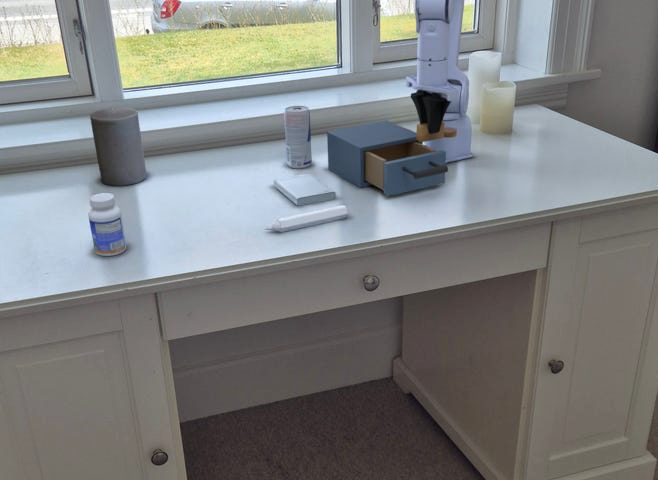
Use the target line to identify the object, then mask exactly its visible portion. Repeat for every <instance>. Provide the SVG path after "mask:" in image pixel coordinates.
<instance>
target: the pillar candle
mask: <svg viewBox="0 0 658 480" xmlns="http://www.w3.org/2000/svg"><path fill="white" fill-rule="evenodd" d="M89 119H90V124H91V130H92V136H93V143H94V148H95V151H96V152H95V153H96V159H97V164H98V169H99V174H100V182H101V183H102V184H103V185H107V186H116V187H122V186H130V185H134V184H137V183H141V182H142V181H145V179H147V176H148V175H147V169H146V160H145V153H144V147H143V140H142V133H141V127H140V120H139V113H138V110H136V109H134V108H131V107H113V106H111V107H110V108H109V107H108V108H104V109H100V110H97V111H94V112H92V113H91V114H90V115H89Z"/></svg>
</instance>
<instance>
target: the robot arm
mask: <svg viewBox="0 0 658 480" xmlns="http://www.w3.org/2000/svg"><path fill="white" fill-rule="evenodd" d="M464 9H465V0H414V18H415V33H416V34H417V46H416V47H417V50H416V51H417V53H416V74H413V75H406V77H405V86H406V88H411V89H412V90H414V91H415V90H416V91H415V92H411V93H410V99H411V100H412V102H413V104H414V107H415V110H416V113H417V116H418V120H419V121H418V122H419V124H423V123H427V124H428V131H429V133H430V134H433V133H438V132H439V131H440V127H441V124H442V122H444V128H446V127H451V128H456V129H457V136H455V137H451V138H445V137H444V138H440V139H435V140H431V141H426V142H424V145H425V146H428V147H430V148H432V149H434V150H436V151H441V150H443V151H446V164H447V163H451V162H456V161H460V160H465V159H470V158H473V153H472V154H471V148H472V131H473V127H472V121H471V118H470V117H469V115H467V112H468V107H469V99H470V90H469V89H470V80H469V78H468V75H467V74H466V73H465V72H464V71H462V70H461V68H459V56H460V46H461V37H462V27H463V19H464V18H463V17H464Z"/></svg>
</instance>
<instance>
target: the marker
mask: <svg viewBox="0 0 658 480" xmlns="http://www.w3.org/2000/svg"><path fill="white" fill-rule="evenodd" d="M348 215H349V213H348V209H347V206H345V205H344V204H342V205H337V206H332V207H327V208H322V209H319V210H313V211H309V212H308V211H307V212H304V213H299V214H294V215H289V216H285V217H281V218H277V219H276V221H274V223H272V224H270V225H269V226H268V227H265V228H264V231H265V230H267V231H275V232H279V233H286V232H289V231H293V230H299V229H303V228H308V227H312V226H317V225H321V224H326V223H330V222H334V221H339V220H344V219H347V217H348Z"/></svg>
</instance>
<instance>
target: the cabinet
mask: <svg viewBox="0 0 658 480" xmlns="http://www.w3.org/2000/svg"><path fill="white" fill-rule="evenodd" d="M326 135H327V136H326V137H327V138H326V140H327V143H326V144H327V167H328V171H330V172H331V173H334V174H335V175H337V176H339V177H341V178H342V179H344V180H345V181H348V182H349V183H351V184H353V185H355V186H357V187H359V189H360V188H367V187H370V186H371V187H372V186H374V185H373V184H371V183H369V182H368V181H366V180H364V151H367V150H372V149H377V148H382V147H387V146H392V145H397V144H402V143H407V142H412V141H416V142H418V143H421V144H423V143H424V142H420V141H418V140H416V136H417V131H413V130H411V129H409V128H407V127H404V126H402V125H399V124H397V123H394V122H393V121H390V120H381V121H376V122H370V123H366V124H365V123H364V124H360V125H355V126H354V125H353V126H349V127H344V128H338V129H334V130H327V131H326ZM423 145H424V144H423Z"/></svg>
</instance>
